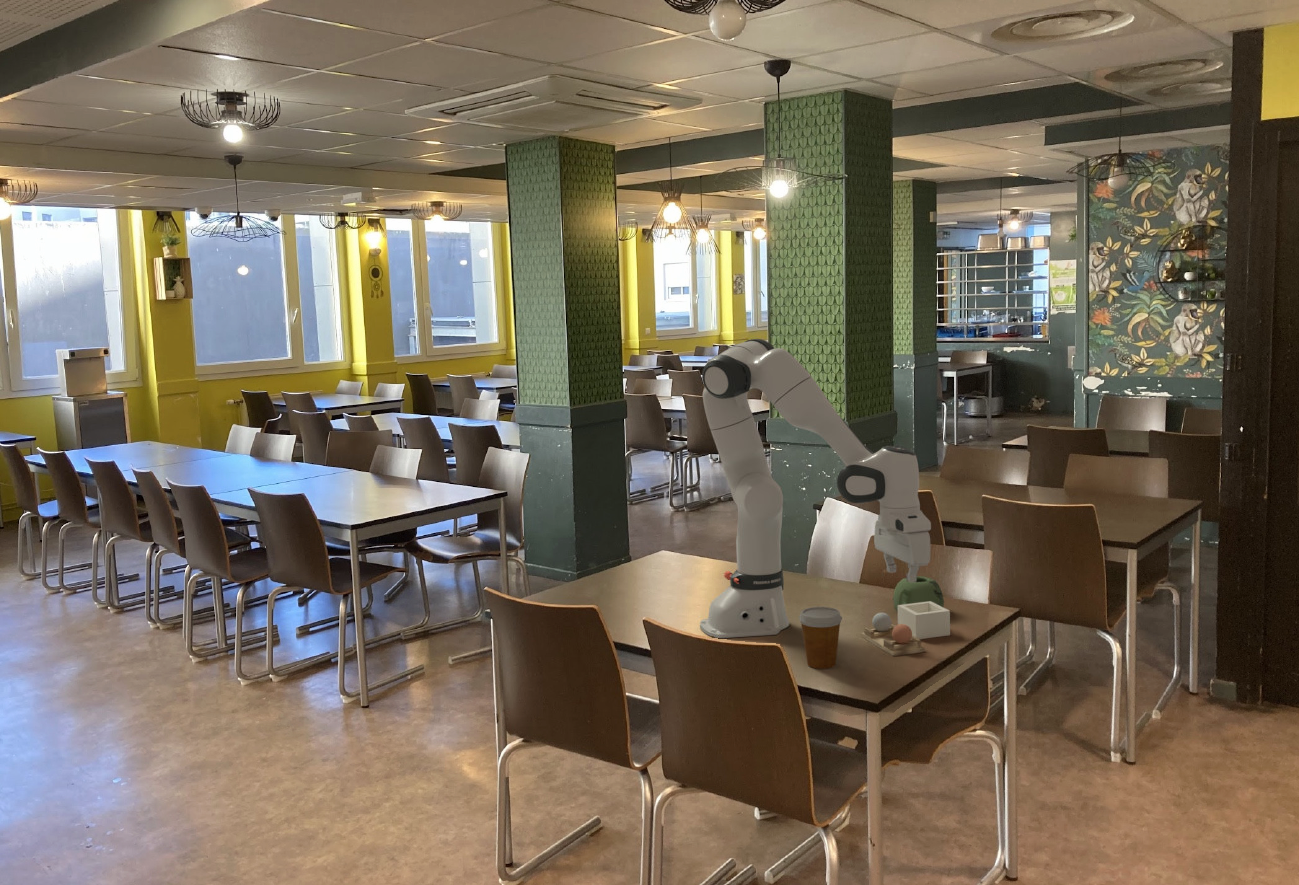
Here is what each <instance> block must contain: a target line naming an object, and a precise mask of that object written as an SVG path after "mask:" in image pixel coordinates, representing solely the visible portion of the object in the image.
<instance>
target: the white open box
mask: <svg viewBox="0 0 1299 885" xmlns="http://www.w3.org/2000/svg"><path fill="white" fill-rule="evenodd" d="M950 616H951V611H950V610H949V609H947V608H946V607H944V606H943V607H941V606H939V605H937V604H935V603H933V602H931V601H928V602H920V603H912V604H904V605H898V611H897V625H899V624H905V625H907V626H908V627H909V628H910V629H911V631H912V636H915V637H916V638H918V639H920V640H924V639H932V638H937V637H946V636H950V635H951V617H950Z"/></svg>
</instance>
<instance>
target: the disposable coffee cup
mask: <svg viewBox="0 0 1299 885" xmlns="http://www.w3.org/2000/svg"><path fill="white" fill-rule="evenodd" d="M798 620H799V622H800V624H801V625H800V626H801V632H802V636H803V642H804V650H805V656H806V657H805V658H806V663H807V666H808V667H810V668H812V669H813V668H814V669H818V670H825V669H831V668H834V667H835V666H836V665H837V656H838V655H837V654H838V648H839V647H838V645H839V636H840V635H839V634H840V627H841V622H842V620H843V617H842V615H841V612H840V610H839V609H837V608H833V607H826V606H812V607H807V608H804V609H802V610H801V611H800V615H799V616H798Z"/></svg>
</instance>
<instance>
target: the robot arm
mask: <svg viewBox="0 0 1299 885" xmlns="http://www.w3.org/2000/svg"><path fill="white" fill-rule="evenodd" d="M701 372H702V373H701V379H702V383H703V386H704V388H703V391H702V402H703V407H704V412H705V415H706V420H707V422H708V427H709V429H710V432H711V436H712V438H713V441H714V443H715V446H716V450H717V452H718V455H719V458H720V461H721V465H722V468H723V471H724V474H725V478H726V482H727V485H728V488H729V490H730V493H731V497H732V499H733V501H734V503H735V504H736V507H737V529H736V530H737V531H736V538H735V539H736V540H735V542H736V543H735V544H736V545H735V546H736V547H735V548H736V568H737V569H736V570H735V571H734V572H731V571H729V570H725V572H724V573H723V578H725V579H726V580H728V581H730V586H728V587H727V588H726V589H725V590H724V591H722V592H721V593H720V594H719V595H718V596H717V597H715V598H714V599H713V600H712V601H711V602H710V605H709V610H708V616H707V618H705V619H702V620H701V621H700V623H699V624H700V625H699V627H700V630H701V631H702V632H704V633H705V634H706V635H707V636H710V637H712V636H714V637H713V638H717V639H726V638H727V639H728V638H739V637H740V638H743V637H744V638H745V637H757V636H759V637H760V636H761V637H762V636H773V635H778V634H779V633H780V632H781V631H782V630H784V629H786V628H788V627H789V626H790V621H789V617H788V614H787V611H786V606H785V600H784V592H783V591H784V584H785V578H784V570H783V568H782V558H781V557H782V556H781V555H782V553H781V534H782V525H783V524H782V523H783V508H784V507H783V504H784V495H783V492H782V488H781V486H780V485H779V484H778V483H777V482H776V481H775V480H774V478H773V477H772V474H771V471H770V469H769V465H768V462H767V458H766V453H765V450H764V445H763V442H762V438H761V434H760V432H759V430H758V429H759V428H758V427H757V424H756V421H755V419H754V416H753V412H752V410H751V409H752V408H751V407H750V404H749V401H748V393H749V391H750V390H752V389H757V390H760V391H761V392H762V393H763V394H764V395H765V396H766V397H767V399H768V400H769V402H770V403H771V404H772V405H773V407H774V408H775V410H776V411H777V412H778V413H779V415H780V416H782V418H783V419H784V420H786V421H787V423H789V425H791V426H792V427H795V428H797V429H800V430H801V429H802V430H805V431H809V432H812V433H815V434H817V435H818V436H820V437H821V438H822V439H823V440H824V441H825V442H826V443H827V444H828V445H829V446H830V448H831V449H832V450H833V451H834V452H835V453H836V455H837V456H838V458H840V460H841V461H842V462H843V463H844V467H843V468H842V469H840V471H839V473H838V475H837V478H836V486H837V490H838V492H839V494H840V495H841V497H842V498H843V499H844V500H846V501H847V502H850V503H851V504H866V503H870V502H876V501H878V502H879V514H878V516H877V519H876V521H875V523H874V524H875V525H874V537H873V538H874V540H873V542H874V547H875V549H876V550H877V551H880V552H882V553H883V559H884V561H885V564H886V571H887V572H888V573H890V574H893V573H897V570H898V569H897V568H898V567H897V564H896V562H895V559H897V560H900V561H902V562H904V563H906V564H907V568H908V573H906V574H905V576H906V577H905V578H906V580H907V581H909V582H911V583H912V582H916V581H917V576H918V572H919V570H920V567H923V566H928V564H929V563H930V560H931V537H930V533H929V531H930V530H931V529H932V522H931V520H929V518H928V517H927V516H926V515H925V514H924V513H923V511H922V510H921V509H920V508H921V504H920V499H919V489H920V470H919V464H918V458H917V455H916V454H915V452H914V451H913V450H911V449H909V448H907V447H904V446H899V445H886V446H883V447H881V449H879V450H878V451H875V452H874V451H873V450H871V449H870V448H868V447H867V446H866V445H865V444H864V443H863V441H862V440H861V439H860V438H859V437H858V436H857V435H856V434H855V432H854V431H853V430H852V429H851V427H850V426H849V425H848V423H846V422H845V420H843V418H842V417H841V416H840V415H839V414H838V412H837V410H836V409H835V408H834V406H833V405H832V404H831V402H830V401H829V399H828V398H827V397H826V395H825V393H824V392H823V391H822V389H821V387H820V386H819V385H818V383H817V382H816V381H815V379H814V378H813V377H812V375H811V374H810V373H809V372H808V370H807V369H806V368H805V367H804V366H803V364H802V363H800V362H799V360H797V359H796V358H795V357H794V355H792V354H791V353H790V352H789V351H787V350H786V349H784V348H782V347H781V348H780V347H779V348H777V347H776V348H774V346H773V345H772V343H770V342H769V341H767V340H765V339H762V338H753V339H748V340H746V341H743V342H740V343H737V344H735V345H732V346H730V347H729V348H727V349H726V350H724V351H722V352H721V353H720V354H717V355H715V356H713V357H712V358H710V359H709V360H708V361H707V362H706V364H705V366H704V367H703V369H702V371H701Z"/></svg>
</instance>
